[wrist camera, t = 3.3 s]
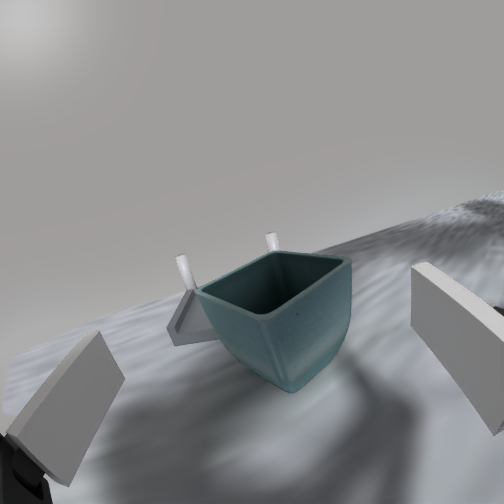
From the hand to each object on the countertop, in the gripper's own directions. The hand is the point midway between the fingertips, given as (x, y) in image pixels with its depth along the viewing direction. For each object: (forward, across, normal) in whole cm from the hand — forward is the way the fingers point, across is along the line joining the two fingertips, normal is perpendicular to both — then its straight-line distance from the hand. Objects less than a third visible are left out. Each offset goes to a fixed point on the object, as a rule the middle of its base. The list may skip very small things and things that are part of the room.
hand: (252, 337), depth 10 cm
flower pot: (+10, +1, -11) cm, 15 cm away
